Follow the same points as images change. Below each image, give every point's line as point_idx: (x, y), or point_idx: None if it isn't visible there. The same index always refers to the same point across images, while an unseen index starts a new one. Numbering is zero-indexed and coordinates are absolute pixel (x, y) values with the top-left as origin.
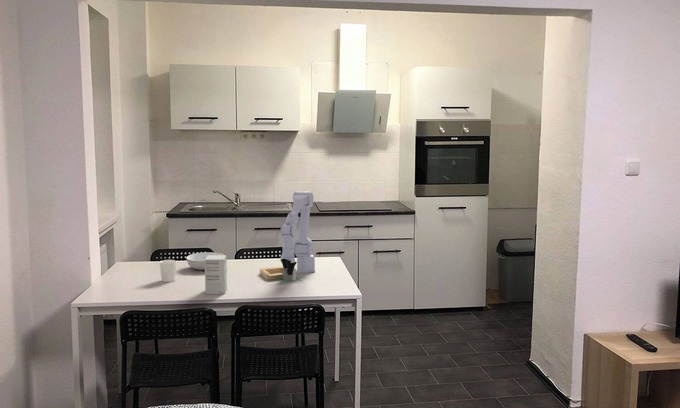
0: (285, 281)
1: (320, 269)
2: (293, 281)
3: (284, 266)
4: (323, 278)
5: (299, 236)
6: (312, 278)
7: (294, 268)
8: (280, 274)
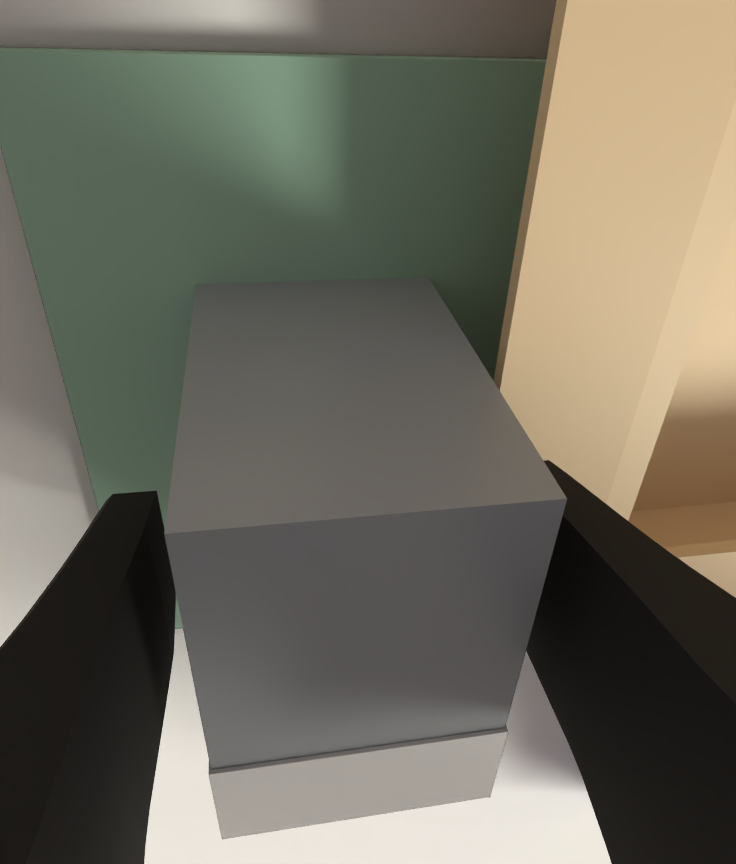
0: (189, 298)
1: None
2: (123, 476)
3: (632, 630)
4: (235, 841)
5: None
6: None
7: (266, 813)
8: (520, 294)
